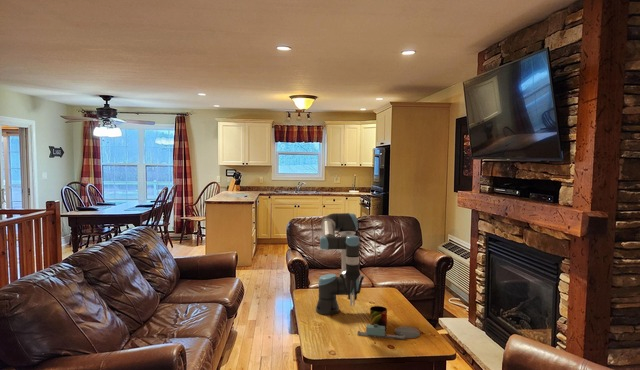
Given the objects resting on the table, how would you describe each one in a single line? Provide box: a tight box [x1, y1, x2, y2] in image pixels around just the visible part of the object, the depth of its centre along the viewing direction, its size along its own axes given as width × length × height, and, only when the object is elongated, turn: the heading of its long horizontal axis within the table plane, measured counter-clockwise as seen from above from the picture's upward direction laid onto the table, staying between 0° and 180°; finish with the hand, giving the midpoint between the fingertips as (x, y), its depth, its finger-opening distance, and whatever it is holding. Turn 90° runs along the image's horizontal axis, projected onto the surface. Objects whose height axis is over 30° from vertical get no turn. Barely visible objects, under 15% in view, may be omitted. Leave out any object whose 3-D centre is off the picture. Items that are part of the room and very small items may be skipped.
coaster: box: [394, 325, 421, 339], centre depth 213 cm, size 14×14×1 cm
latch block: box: [366, 324, 386, 336], centre depth 209 cm, size 4×10×5 cm, turn 77°
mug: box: [369, 305, 388, 333], centre depth 220 cm, size 10×14×12 cm
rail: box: [357, 330, 406, 341], centre depth 209 cm, size 2×26×2 cm, turn 77°
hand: (352, 305), depth 212 cm, fingers closed
